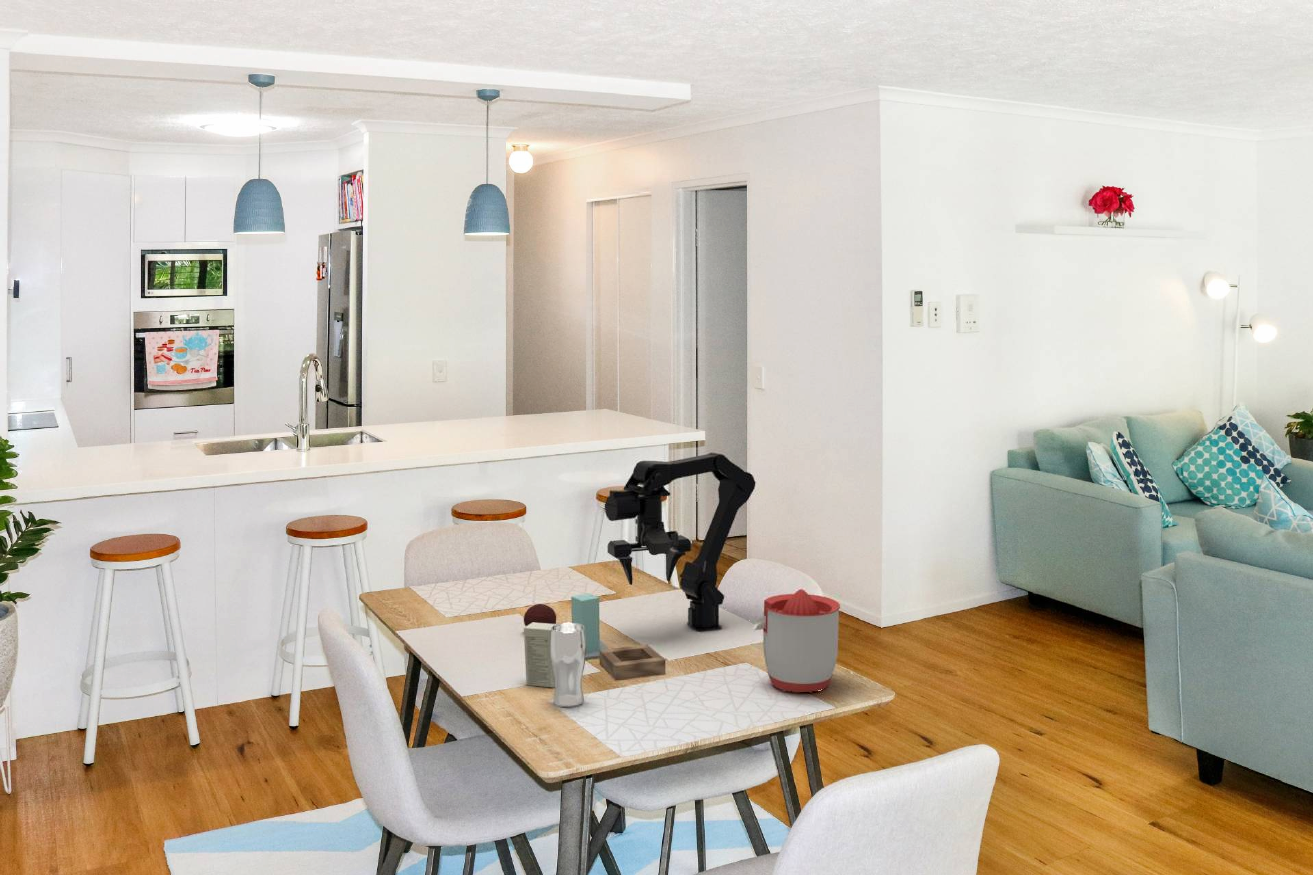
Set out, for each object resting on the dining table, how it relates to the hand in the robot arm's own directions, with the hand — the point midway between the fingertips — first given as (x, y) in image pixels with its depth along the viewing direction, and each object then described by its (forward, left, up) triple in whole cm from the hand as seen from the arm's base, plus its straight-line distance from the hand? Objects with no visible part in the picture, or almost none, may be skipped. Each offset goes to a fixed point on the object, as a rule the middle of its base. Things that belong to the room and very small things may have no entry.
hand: (649, 582), depth 255 cm
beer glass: (+29, +33, -13) cm, 46 cm away
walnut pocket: (+11, +19, -13) cm, 26 cm away
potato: (+23, -12, -13) cm, 29 cm away
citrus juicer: (-17, +40, -13) cm, 45 cm away
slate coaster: (+17, +5, -13) cm, 22 cm away
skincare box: (+31, +21, -13) cm, 40 cm away
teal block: (+17, +5, -12) cm, 22 cm away
